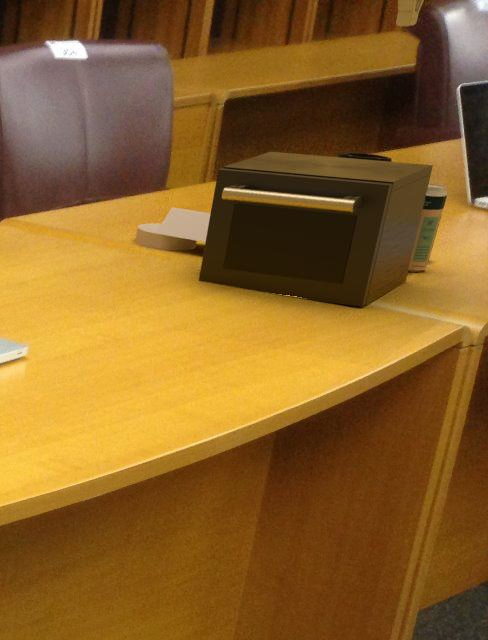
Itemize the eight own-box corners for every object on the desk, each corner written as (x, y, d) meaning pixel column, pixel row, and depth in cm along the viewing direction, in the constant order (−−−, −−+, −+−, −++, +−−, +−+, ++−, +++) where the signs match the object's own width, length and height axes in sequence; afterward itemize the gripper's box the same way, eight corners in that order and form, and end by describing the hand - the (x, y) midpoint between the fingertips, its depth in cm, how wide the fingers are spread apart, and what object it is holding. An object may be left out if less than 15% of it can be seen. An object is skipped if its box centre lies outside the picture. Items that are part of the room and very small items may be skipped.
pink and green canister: (399, 264, 229) (421, 181, 224) (431, 270, 226) (455, 186, 220) (384, 268, 227) (406, 184, 221) (416, 274, 223) (440, 190, 218)
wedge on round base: (228, 256, 236) (149, 242, 244) (238, 212, 233) (157, 199, 241) (204, 265, 230) (123, 250, 238) (213, 219, 227) (131, 206, 235)
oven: (365, 305, 205) (393, 182, 198) (202, 283, 218) (222, 166, 211) (405, 281, 219) (433, 165, 212) (249, 262, 232) (270, 151, 225)
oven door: (351, 313, 201) (379, 189, 194) (185, 290, 213) (205, 172, 206) (365, 305, 205) (392, 183, 198) (201, 282, 218) (222, 168, 211)
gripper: (437, -94, 185) (410, 30, 191) (477, -92, 199) (450, 23, 205) (381, -93, 188) (356, 28, 195) (425, -92, 202) (400, 21, 209)
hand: (405, 25), depth 200 cm, fingers closed
